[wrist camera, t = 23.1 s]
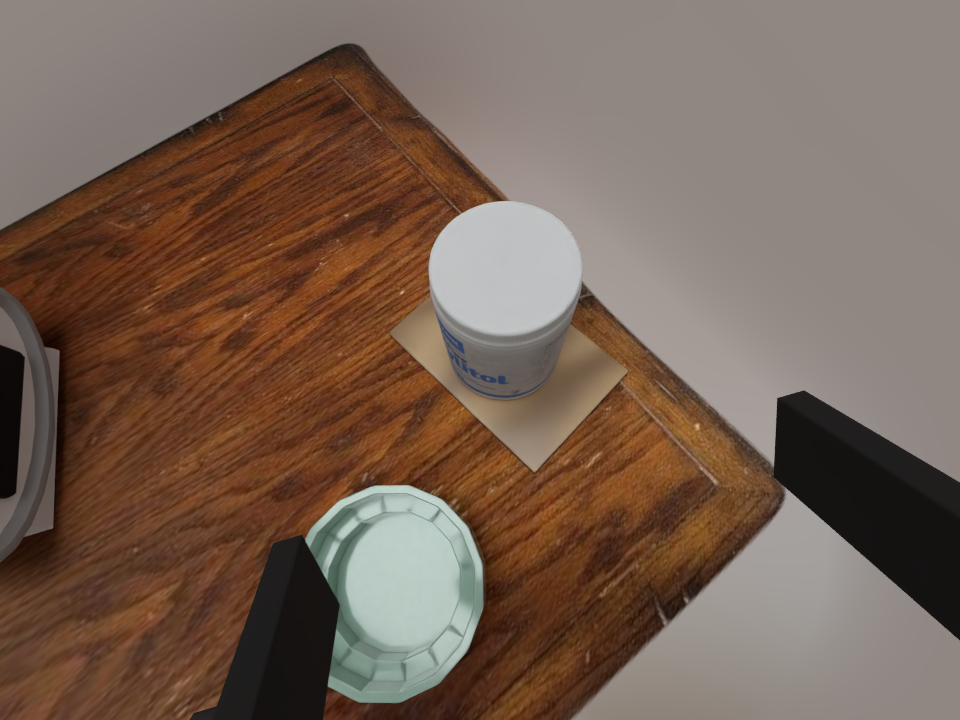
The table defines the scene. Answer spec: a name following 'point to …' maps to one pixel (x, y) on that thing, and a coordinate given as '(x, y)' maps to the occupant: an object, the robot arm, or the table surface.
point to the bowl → (398, 590)
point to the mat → (533, 418)
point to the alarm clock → (25, 426)
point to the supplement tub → (505, 295)
